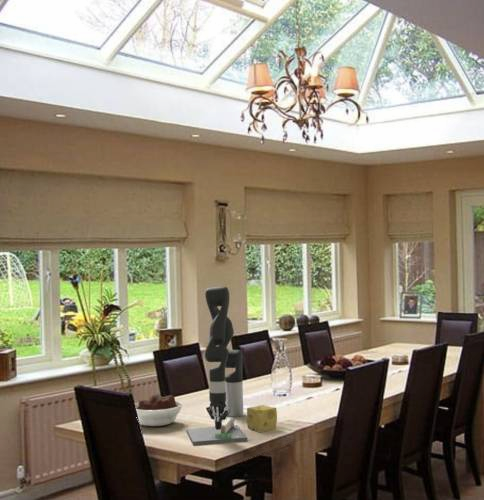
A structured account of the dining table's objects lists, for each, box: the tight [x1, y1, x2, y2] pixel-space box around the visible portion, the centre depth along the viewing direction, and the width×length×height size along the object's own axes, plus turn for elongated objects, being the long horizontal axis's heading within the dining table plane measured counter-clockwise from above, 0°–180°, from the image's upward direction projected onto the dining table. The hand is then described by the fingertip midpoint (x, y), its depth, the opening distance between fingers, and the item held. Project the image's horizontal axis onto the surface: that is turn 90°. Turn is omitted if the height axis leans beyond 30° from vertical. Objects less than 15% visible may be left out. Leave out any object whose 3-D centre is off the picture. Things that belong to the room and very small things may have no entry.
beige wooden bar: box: [221, 417, 235, 434], centre depth 326 cm, size 18×4×4 cm, turn 169°
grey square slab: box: [185, 424, 249, 446], centre depth 324 cm, size 24×24×3 cm
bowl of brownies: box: [134, 393, 183, 427], centre depth 351 cm, size 25×25×15 cm
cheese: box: [246, 404, 278, 433], centre depth 337 cm, size 10×11×10 cm
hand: (218, 429), depth 322 cm, fingers closed
